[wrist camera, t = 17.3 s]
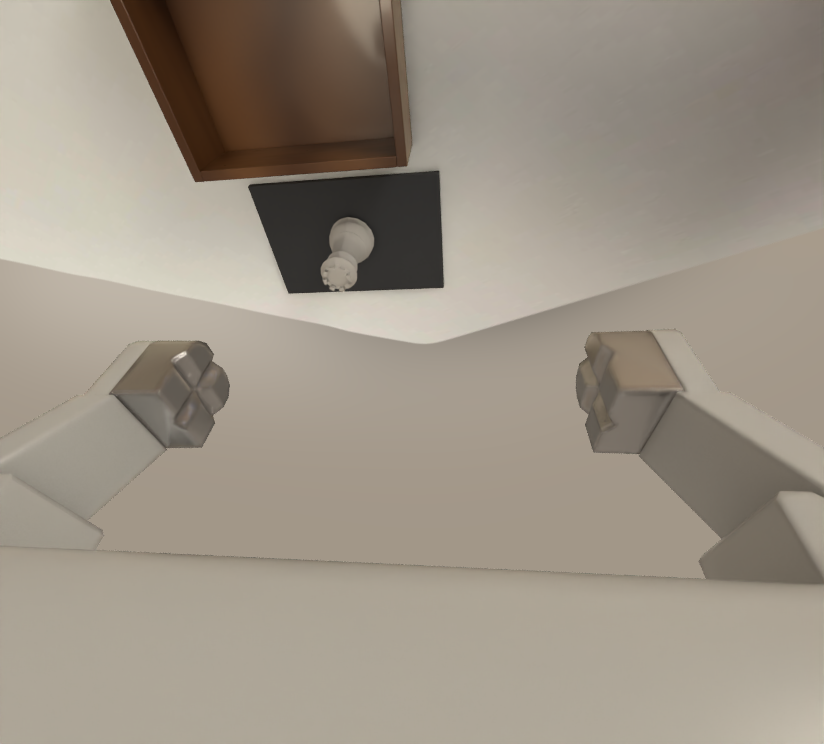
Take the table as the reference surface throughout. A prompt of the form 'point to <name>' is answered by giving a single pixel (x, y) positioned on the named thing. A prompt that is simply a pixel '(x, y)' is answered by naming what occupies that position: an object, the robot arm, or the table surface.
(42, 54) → the table surface
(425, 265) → the mat
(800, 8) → the table surface
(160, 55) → the open wooden box
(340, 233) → the rook chess piece
